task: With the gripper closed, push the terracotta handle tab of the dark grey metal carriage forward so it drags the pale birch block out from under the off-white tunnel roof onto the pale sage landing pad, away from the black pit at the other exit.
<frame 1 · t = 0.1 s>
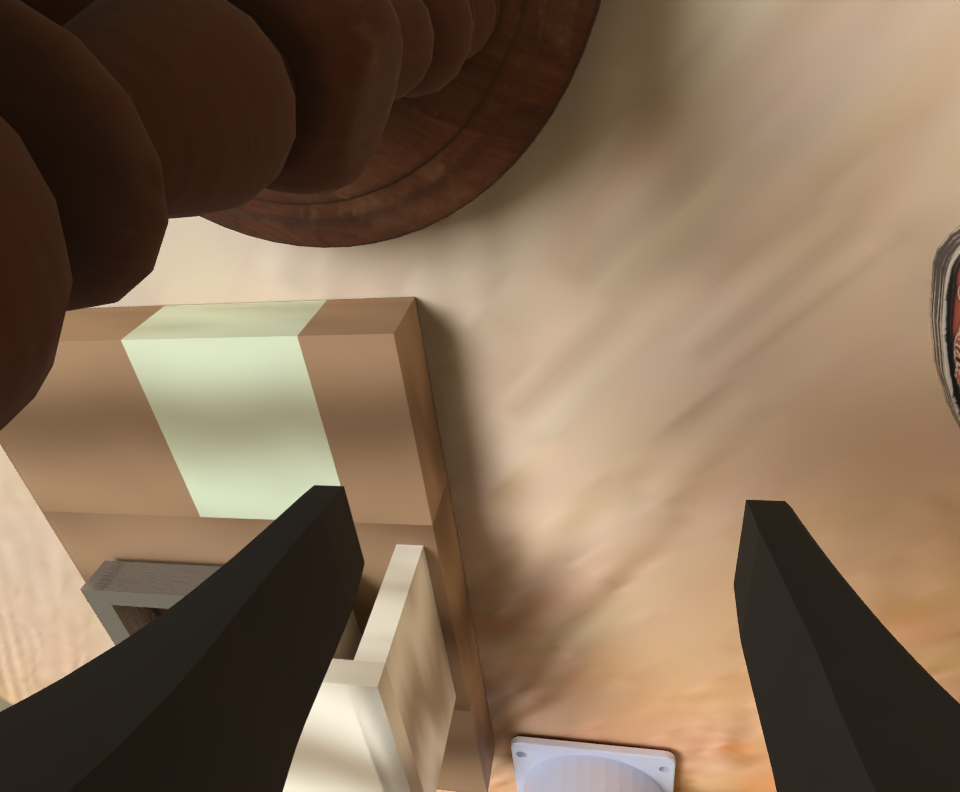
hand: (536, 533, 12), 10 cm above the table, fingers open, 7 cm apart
block: (311, 619, 27), point 2 cm above the table, touching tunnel
carriage: (227, 691, 27), point 5 cm above the table, slide at 0.0 cm
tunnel: (332, 572, 29), on the table
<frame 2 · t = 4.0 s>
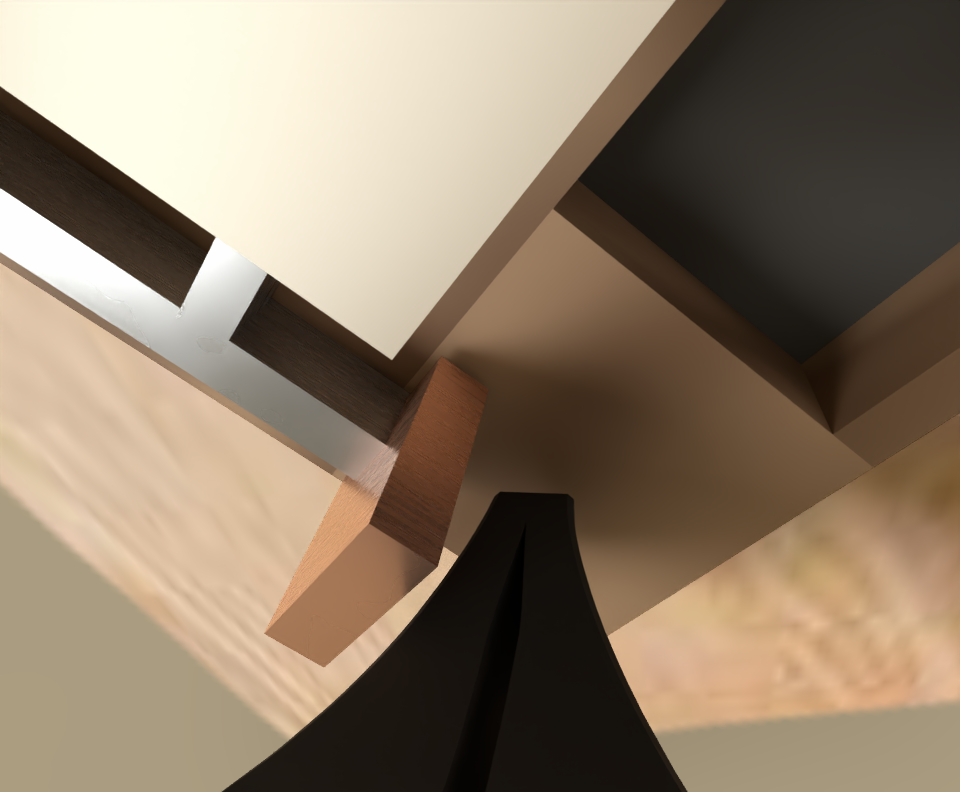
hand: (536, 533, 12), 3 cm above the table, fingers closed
carriage: (234, 61, 7), point 5 cm above the table, slide at 0.4 cm, touching block, gripper
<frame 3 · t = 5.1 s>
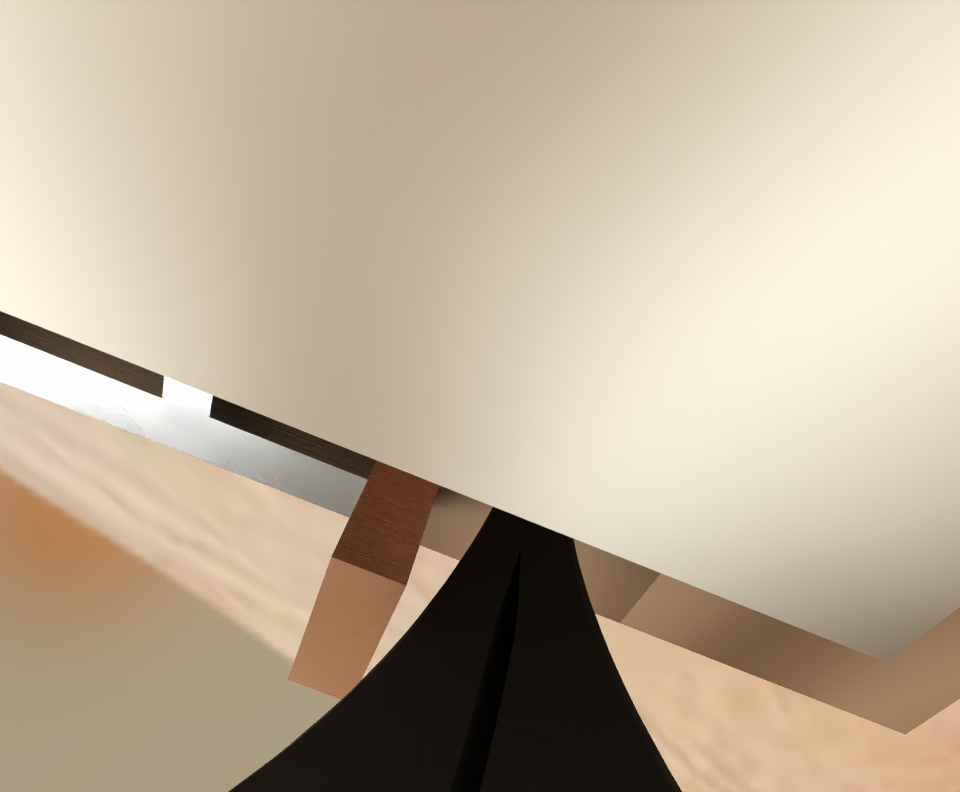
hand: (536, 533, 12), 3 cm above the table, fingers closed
carriage: (123, 176, 8), point 5 cm above the table, slide at 6.5 cm, touching gripper
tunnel: (594, 16, 11), on the table
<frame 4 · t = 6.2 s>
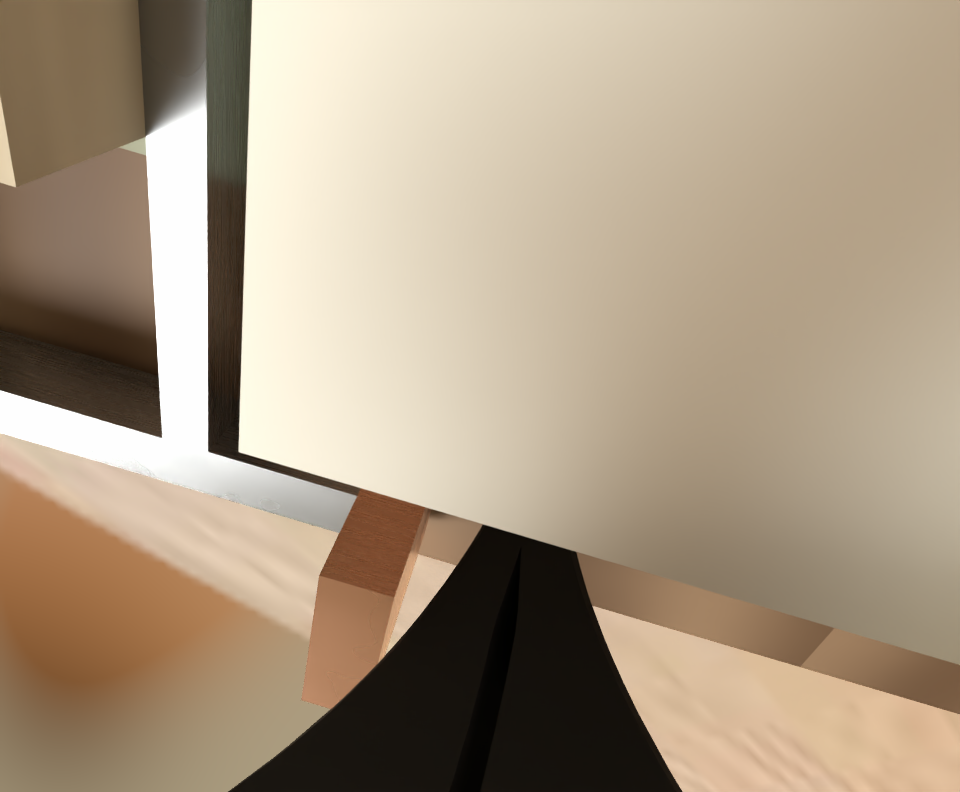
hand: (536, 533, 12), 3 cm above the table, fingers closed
carriage: (91, 232, 9), point 5 cm above the table, slide at 10.0 cm, touching block, gripper
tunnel: (745, 82, 11), on the table
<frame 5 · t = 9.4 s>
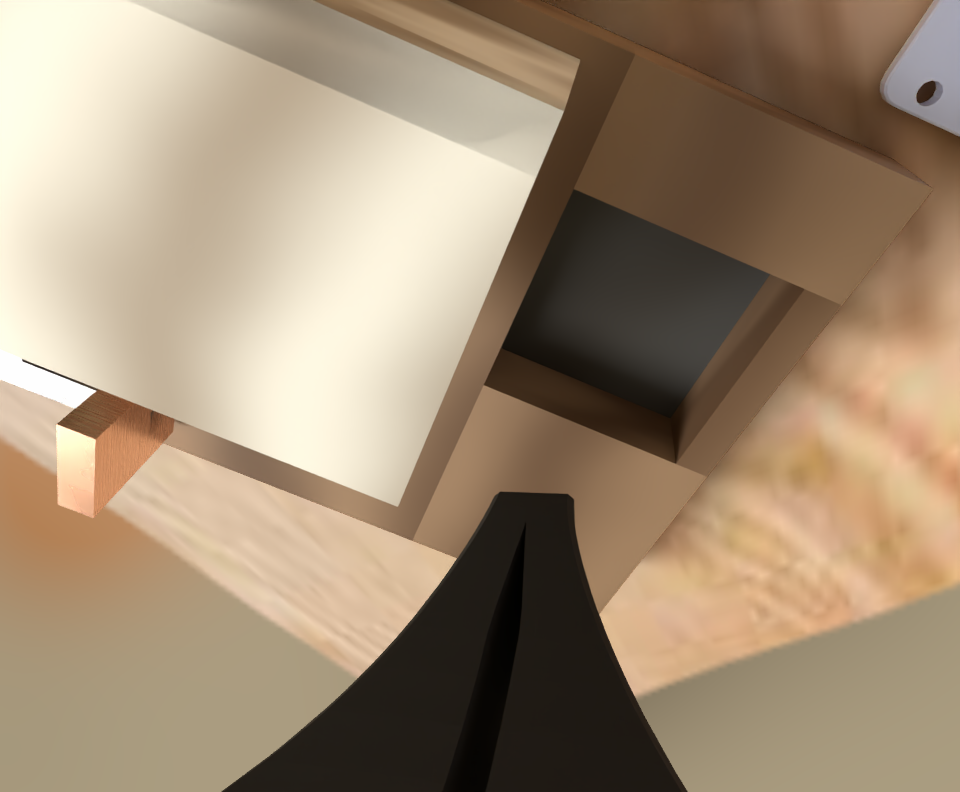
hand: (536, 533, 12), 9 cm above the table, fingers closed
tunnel: (355, 184, 19), on the table
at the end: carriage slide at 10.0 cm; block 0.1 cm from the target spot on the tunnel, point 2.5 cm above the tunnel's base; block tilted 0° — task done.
